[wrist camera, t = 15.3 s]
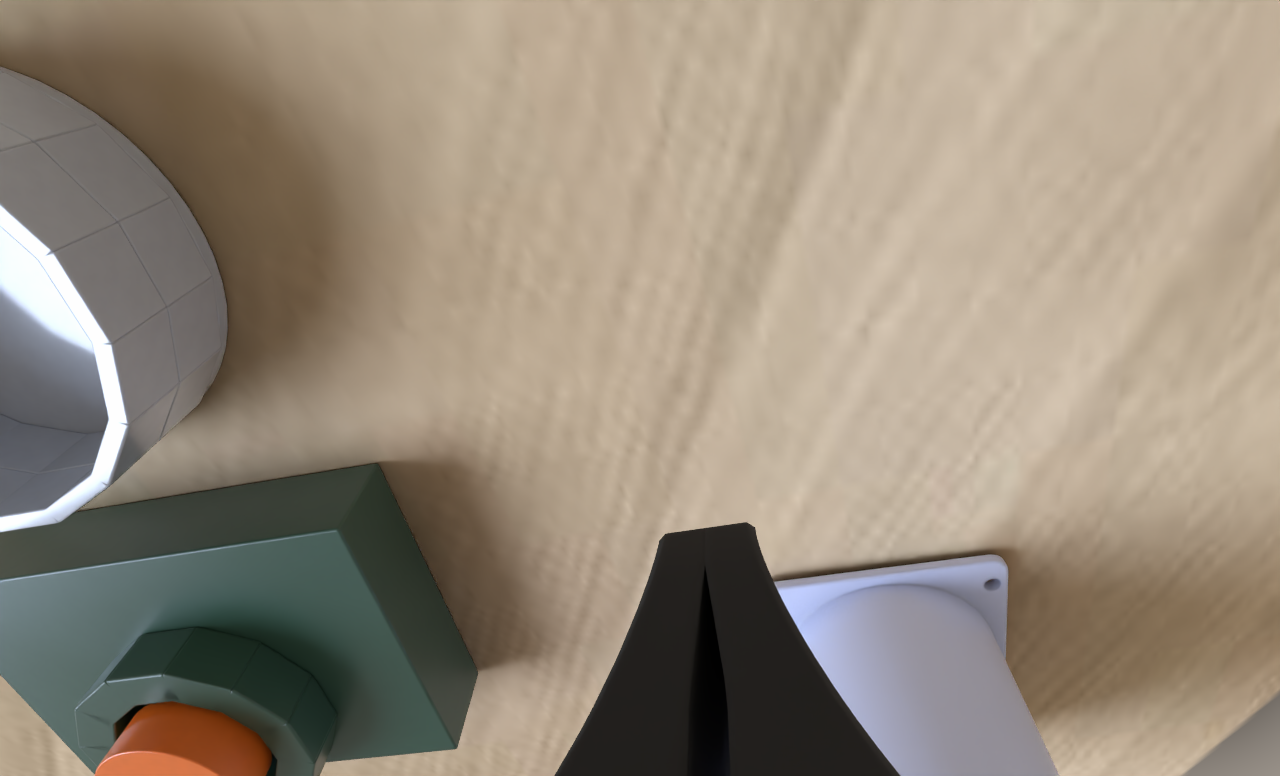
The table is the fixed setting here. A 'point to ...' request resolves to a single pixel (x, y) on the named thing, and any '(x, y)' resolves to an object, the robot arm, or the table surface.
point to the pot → (91, 305)
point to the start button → (185, 745)
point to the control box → (239, 621)
